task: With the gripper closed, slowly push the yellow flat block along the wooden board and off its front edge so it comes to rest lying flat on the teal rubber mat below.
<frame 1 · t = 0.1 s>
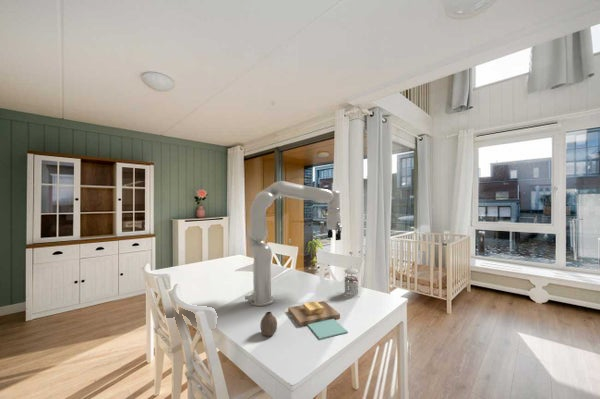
hand: (334, 238, 151), 31 cm above the table, tool pointing down, fingers open, 9 cm apart
french press: (350, 294, 144), on the table
vase: (268, 334, 102), on the table
mat: (327, 328, 106), on the table
yellow flat block: (313, 310, 119), point 2 cm above the table, touching wooden board
wooden board: (313, 314, 119), on the table
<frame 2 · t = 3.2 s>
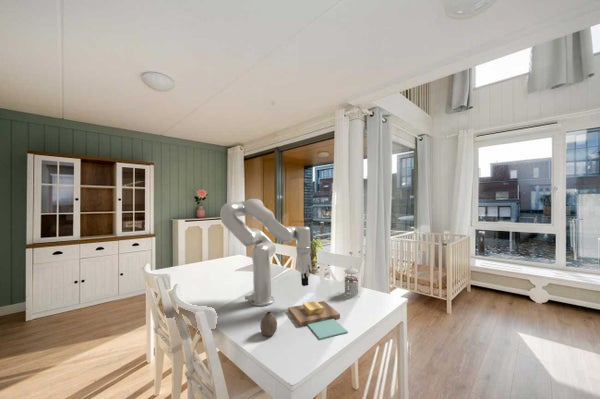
hand: (305, 285, 130), 10 cm above the table, tool pointing down, fingers closed
nothing on the table moved.
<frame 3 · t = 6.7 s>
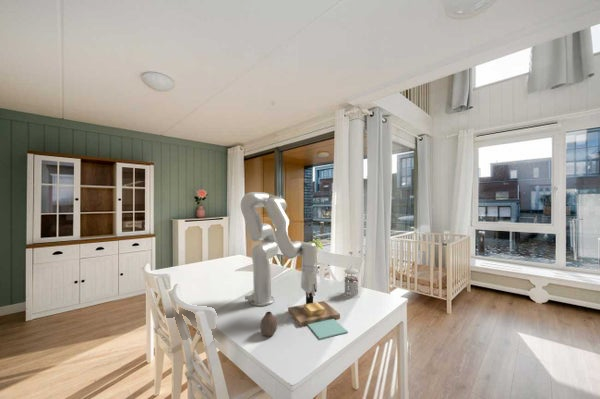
hand: (309, 304, 123), 3 cm above the table, tool pointing down, fingers closed
yellow flat block: (314, 311, 118), point 2 cm above the table, touching wooden board
everything else where it was.
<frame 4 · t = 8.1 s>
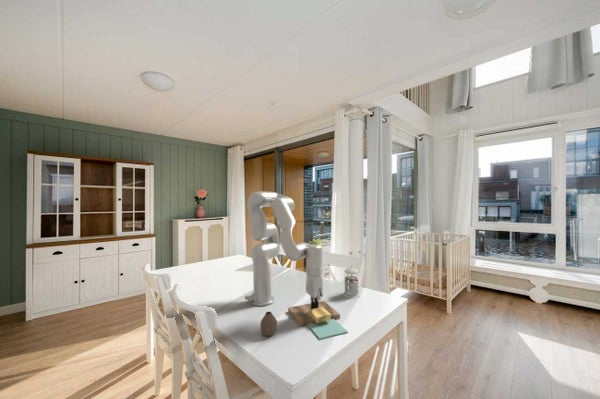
hand: (314, 309, 117), 3 cm above the table, tool pointing down, fingers closed
yellow flat block: (319, 317, 112), point 2 cm above the table, touching gripper
everything else where it was.
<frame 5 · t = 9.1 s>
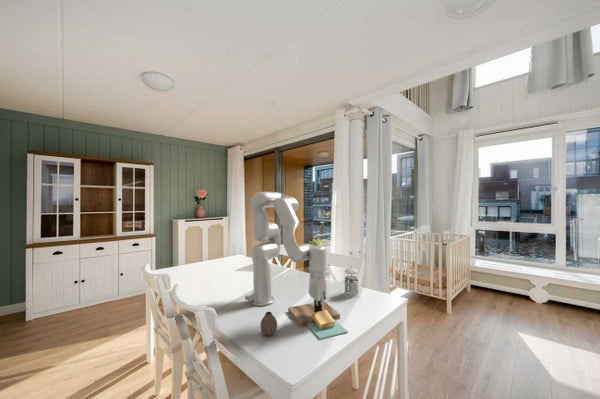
hand: (318, 313, 114), 3 cm above the table, tool pointing down, fingers closed
yellow flat block: (323, 321, 109), point 1 cm above the table, tilted 12°, touching wooden board, gripper
everything else where it was.
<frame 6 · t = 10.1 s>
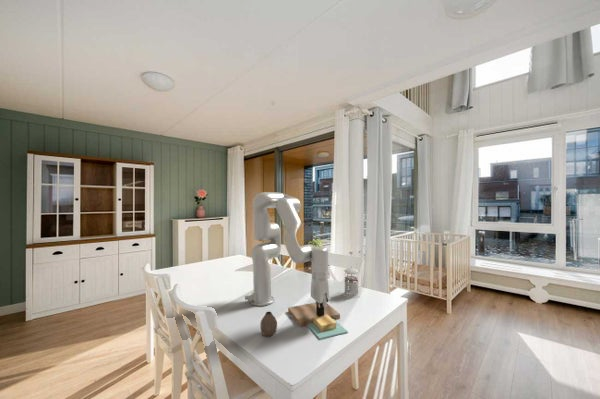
hand: (320, 315, 112), 3 cm above the table, tool pointing down, fingers closed
yellow flat block: (324, 325, 107), point 1 cm above the table, touching gripper, mat
everything else where it was.
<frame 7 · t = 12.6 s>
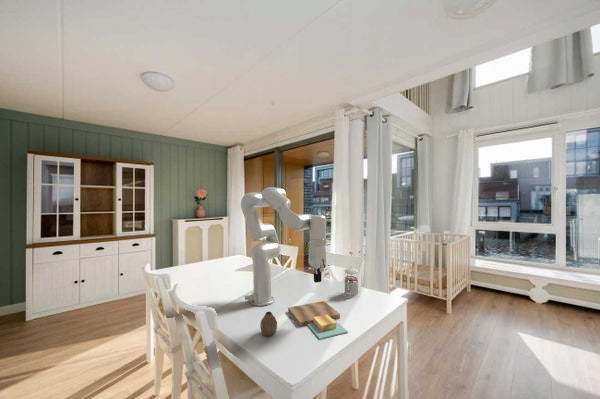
hand: (317, 281, 114), 18 cm above the table, tool pointing down, fingers closed
yellow flat block: (324, 325, 107), point 1 cm above the table, touching mat
everything else where it was.
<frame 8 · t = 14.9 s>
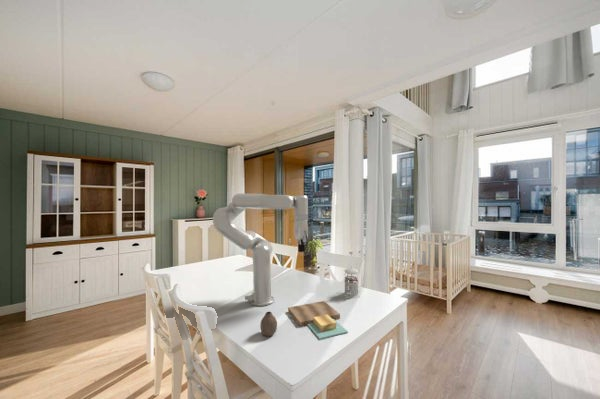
hand: (301, 251, 135), 27 cm above the table, tool pointing down, fingers closed
nothing on the table moved.
at the end: yellow flat block inside the target area (1.9 cm from its centre), point 0.6 cm above the table; yellow flat block touching mat; yellow flat block tilted 0° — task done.
